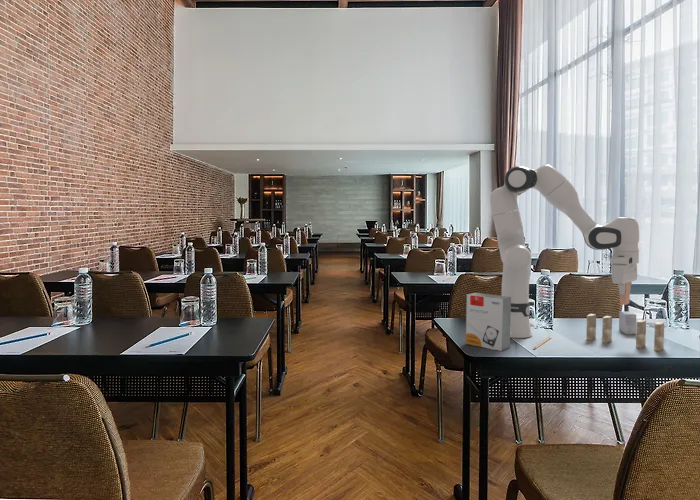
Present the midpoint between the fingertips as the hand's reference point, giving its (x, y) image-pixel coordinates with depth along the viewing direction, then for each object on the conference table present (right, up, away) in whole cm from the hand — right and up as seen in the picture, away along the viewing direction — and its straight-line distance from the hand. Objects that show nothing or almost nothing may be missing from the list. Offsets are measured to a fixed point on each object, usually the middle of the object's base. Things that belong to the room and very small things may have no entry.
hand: (624, 293), depth 185 cm
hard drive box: (-55, -21, -2) cm, 58 cm away
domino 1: (-8, -20, +10) cm, 23 cm away
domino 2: (-4, -20, +5) cm, 21 cm away
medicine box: (+14, -19, +21) cm, 32 cm away
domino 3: (0, -4, 0) cm, 4 cm away
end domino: (+8, -21, -8) cm, 23 cm away
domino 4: (+4, -20, -3) cm, 21 cm away
